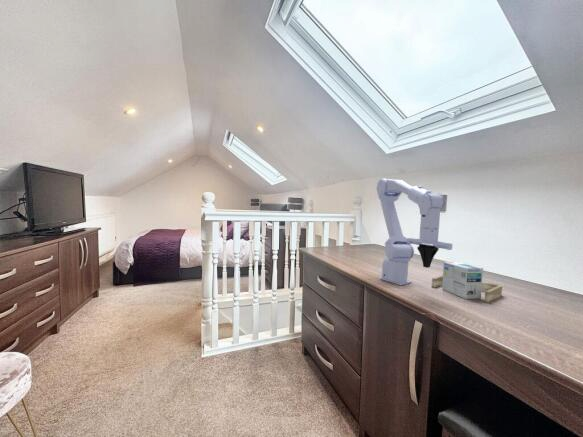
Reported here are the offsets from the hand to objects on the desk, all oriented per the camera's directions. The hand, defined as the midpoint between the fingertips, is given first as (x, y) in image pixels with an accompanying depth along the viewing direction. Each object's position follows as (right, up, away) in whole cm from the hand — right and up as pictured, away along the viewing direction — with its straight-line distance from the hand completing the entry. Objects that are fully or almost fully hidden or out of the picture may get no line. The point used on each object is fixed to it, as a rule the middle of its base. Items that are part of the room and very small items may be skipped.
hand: (426, 266), depth 88 cm
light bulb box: (+14, -11, +3) cm, 18 cm away
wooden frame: (+18, -10, +6) cm, 21 cm away
